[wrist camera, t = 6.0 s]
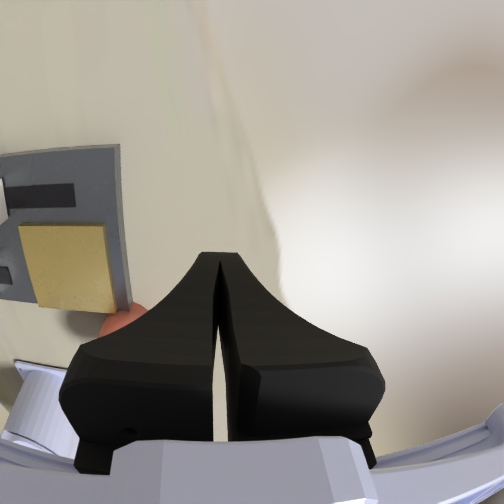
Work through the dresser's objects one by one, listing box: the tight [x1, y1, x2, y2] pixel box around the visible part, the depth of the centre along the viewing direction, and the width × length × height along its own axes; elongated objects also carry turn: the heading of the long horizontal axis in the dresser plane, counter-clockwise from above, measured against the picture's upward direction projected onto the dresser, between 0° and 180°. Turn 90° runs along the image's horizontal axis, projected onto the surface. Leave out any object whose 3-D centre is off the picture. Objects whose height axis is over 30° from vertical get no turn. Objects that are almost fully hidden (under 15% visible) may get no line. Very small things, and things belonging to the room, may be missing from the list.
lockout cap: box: [98, 302, 148, 338], centre depth 22 cm, size 4×4×6 cm
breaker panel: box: [0, 144, 133, 314], centre depth 19 cm, size 12×16×2 cm
